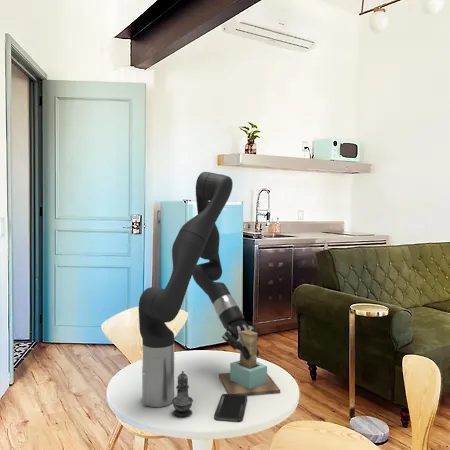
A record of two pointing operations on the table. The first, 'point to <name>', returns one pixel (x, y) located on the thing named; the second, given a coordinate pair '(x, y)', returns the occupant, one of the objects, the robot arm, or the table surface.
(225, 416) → the phone
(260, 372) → the teal open box
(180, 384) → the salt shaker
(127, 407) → the table surface
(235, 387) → the base plate
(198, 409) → the table surface
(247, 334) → the tall wooden block
